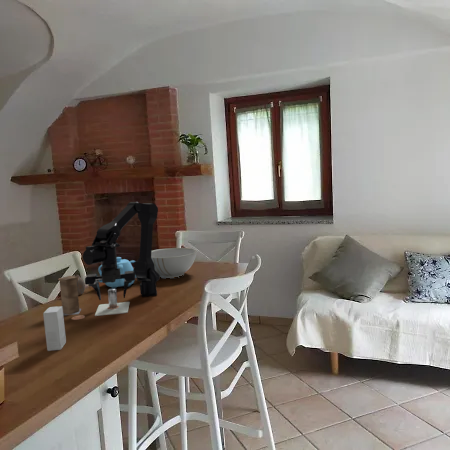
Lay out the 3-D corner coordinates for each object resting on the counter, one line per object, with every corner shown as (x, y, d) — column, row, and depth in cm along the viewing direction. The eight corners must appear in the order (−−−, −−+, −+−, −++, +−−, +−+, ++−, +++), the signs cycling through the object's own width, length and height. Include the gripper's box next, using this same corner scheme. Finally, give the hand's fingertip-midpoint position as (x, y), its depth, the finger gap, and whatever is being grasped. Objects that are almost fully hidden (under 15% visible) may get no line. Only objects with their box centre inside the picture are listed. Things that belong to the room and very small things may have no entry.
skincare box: (52, 343, 140) (48, 306, 139) (66, 342, 140) (62, 305, 139) (46, 351, 134) (42, 312, 133) (61, 350, 134) (57, 311, 133)
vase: (80, 296, 195) (78, 277, 194) (66, 296, 197) (64, 277, 196) (88, 292, 202) (86, 273, 201) (74, 292, 204) (72, 273, 203)
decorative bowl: (146, 284, 211) (145, 259, 209) (143, 273, 237) (141, 250, 235) (202, 278, 217) (200, 254, 215) (193, 268, 243) (191, 246, 241)
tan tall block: (73, 309, 176) (69, 275, 174) (80, 311, 173) (77, 277, 171) (61, 312, 172) (58, 278, 170) (69, 314, 169) (65, 279, 167)
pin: (117, 305, 177) (116, 288, 176) (117, 307, 173) (115, 290, 173) (109, 306, 176) (108, 289, 175) (108, 308, 173) (107, 291, 172)
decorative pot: (95, 288, 209) (92, 259, 208) (119, 280, 223) (117, 253, 221) (120, 291, 201) (118, 261, 199) (144, 282, 215) (142, 255, 213)
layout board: (129, 302, 182) (129, 301, 182) (127, 315, 166) (127, 313, 165) (64, 308, 178) (64, 307, 178) (55, 322, 162) (55, 320, 162)
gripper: (80, 265, 163) (84, 307, 165) (132, 261, 166) (135, 302, 168) (85, 260, 174) (88, 299, 176) (133, 256, 177) (136, 294, 179)
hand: (112, 298), depth 174 cm, fingers open, 9 cm apart
